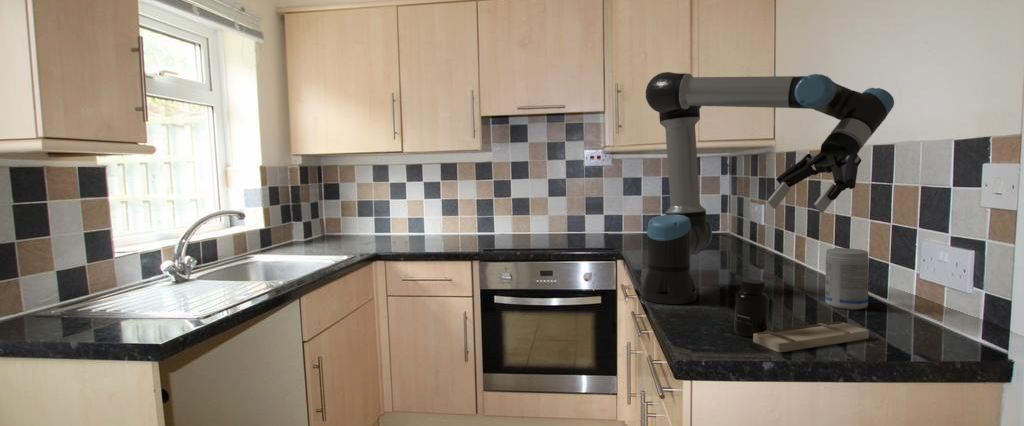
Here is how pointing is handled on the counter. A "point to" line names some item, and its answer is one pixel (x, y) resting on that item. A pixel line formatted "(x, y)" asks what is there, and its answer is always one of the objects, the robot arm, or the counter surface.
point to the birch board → (810, 336)
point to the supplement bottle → (751, 308)
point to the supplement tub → (847, 278)
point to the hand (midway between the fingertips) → (793, 206)
